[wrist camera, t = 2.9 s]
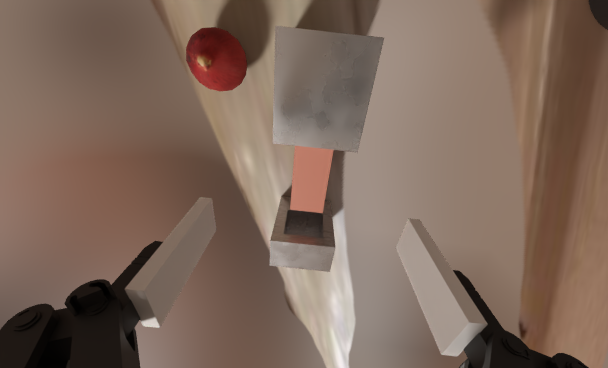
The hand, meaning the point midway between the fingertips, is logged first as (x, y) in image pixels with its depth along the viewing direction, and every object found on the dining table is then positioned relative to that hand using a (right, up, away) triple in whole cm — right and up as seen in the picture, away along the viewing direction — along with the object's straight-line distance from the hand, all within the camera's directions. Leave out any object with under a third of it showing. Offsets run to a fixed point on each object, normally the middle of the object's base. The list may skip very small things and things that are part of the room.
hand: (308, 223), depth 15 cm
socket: (0, -2, +22) cm, 22 cm away
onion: (-9, +18, +11) cm, 23 cm away
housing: (+2, +15, +12) cm, 19 cm away
